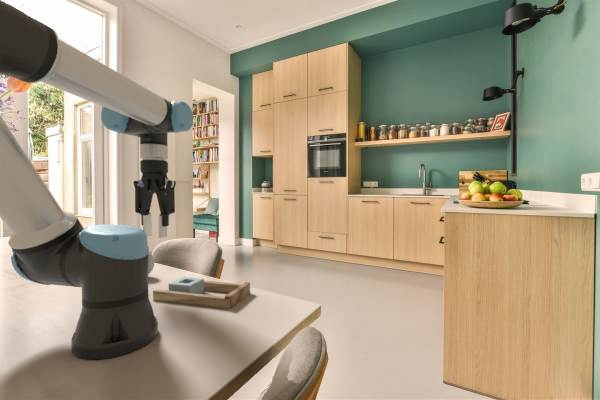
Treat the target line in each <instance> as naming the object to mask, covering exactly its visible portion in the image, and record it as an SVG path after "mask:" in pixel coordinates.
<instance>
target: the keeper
mask: <svg viewBox="0 0 600 400" xmlns="http://www.w3.org/2000/svg"><path fill="white" fill-rule="evenodd" d="M204 281H205V279H204V278H202V277H201V278H200V277H191V276H190V277H188V276H183V277H181V278H178V279H176V280H174V281H171V282H169V283H168V290H169V291H178V292H187V293H196V294H203V293H204V292H205V290H204Z"/></svg>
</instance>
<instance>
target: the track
mask: <svg viewBox="0 0 600 400" xmlns="http://www.w3.org/2000/svg"><path fill="white" fill-rule="evenodd" d="M204 291H207V292H208V291H209V292H218V293H227V294H226V295H223V296H222V295H215V294H213V295H212V294H203V293H201V294H196V293H187V292H178V291H169V289H168V290H167V289H159V288H157V289H154V290H153V291H152V300H154V301H160V302H161V301H162V302H171V303H176V304H187V305H194V306H201V307H202V306H203V307H211V308H219V309H227V310H230V309H232V308H233V307H234V306H235V305H237V304H238V303H239V302H241V301H242V300H244V299H245V298H246V297H247V296H248V295H250V294H251V282H247V281H245V282H244V283H235V282H233V283H232V282H222V281H212V280H204Z"/></svg>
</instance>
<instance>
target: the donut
mask: <svg viewBox="0 0 600 400" xmlns="http://www.w3.org/2000/svg"><path fill="white" fill-rule="evenodd" d="M154 267H155V258H154V255H153V254H152V253H151V252H150V251H149V258H148V275H150V274H151V273H152V272H153V270H154Z"/></svg>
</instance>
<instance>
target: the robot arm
mask: <svg viewBox="0 0 600 400" xmlns="http://www.w3.org/2000/svg"><path fill="white" fill-rule="evenodd" d="M0 75H3V76H6V77H10V78H11V77H12V78H14V79H17V80H19V81H21V82H23V83H26V84H27V83H28V84H37V83H40V82H42V83H44V84H46V85H48V86H49V85H50V86H52V87H54V88H56V89H59V90H61V91H64V92H66V93H68V94H71V95H73V96H75V97H79V98H81V99H84V100H86V101H89V102H90V103H93V104H96V105H98V106H100V107H102V109H101V112H100V117H101V118H100V120H101V123H102V125H103V126H104V127H105V128H106V129H107V130H109V131H112V132H116V133H117V134H123V135H129V136H133V137H138V138H139V147H140V149H139V151H140V152H139V153H140V154H139V157H140V159H141V160H140V162H139V163H140V164H139V165H140V169H139V170H140V173H141V174H142V175H141V177H140V179H138V180H134V181H133V186H134V212H135V213H136V214H139V215H140V217H141V219H140V221H141V226H142V228H140V227H136V226H134V225H133V226H132V225H126V224H113V223H112V224H110V223H108V224H107V223H106V224H103V223H102V224H94V225H92V224H91V225H89V226H85V227H84V226H83V225H82V223H81V221H80V220H79V218H78V216H77V215H76V214H75V213H73V212H68V211H64V210H62V207H61V206H60V204H59V203H58V202H57V200H56V198H55V197H54V195H53V194H52V192H51V190H50V189H49V188H48V186H47V184H46V183H45V182H44V180H43V178H42V177H41V175H40V173H39V172H38V171H37V169H36V168H35V166H34V164H33V163H32V162H31V160H30V158H29V156H28V155H27V153H26V152H25V151H24V149H23V147H22V146H21V144H20V143H19V141H18V140H17V138H16V137H15V135H14V134H13V132H12V131H11V129H10V128H9V126H8V124H7V123H6V121H5V120H4V119H3V117H2V115H1V114H0V219H1V221H2V222H3V223H4V224H5V225H6V226H7V228H8V229H9V230H10V232H11V235H10V237H9V239H8V246H9V247H10V248H11V252H12V255H11V257H10V261H11V264H12V268H13V269H14V271H15V272H16V273H17V274H18V275H19V276H20V277H22V278H23V279H24V280H26V281H29V282H33V283H35V284H39V285H45V286H61V287H63V286H64V287H71V288H72V287H73V288H81V305H82V306H81V312H80V314H79V318H78V320H77V323H76V327H75V331H74V332H73V334H72V337H71V340H70V341H71V353H72V355H74V356H75V357H77V358H79V359H84V360H102V359H108V358H114V357H119V356H122V355H126V354H128V353H129V354H130V353H132V352H134V351H137V350H139V349H141V348H143V347H145V346H147V345H148V344H150V343H151V342H152V341H154V339H156V337H157V335H158V334H159V333H158V332H159V328H158V327H159V322H158V319H157V316H155V314H154V310H153V306H152V304H151V301H150V298H149V296H150V295H149V274H148V258H149V252H150V249H149V244H148V237H152V234H153V231H152V229H153V224H152V222H153V218H152V216H153V215H152V213H151V207H152V202H153V196H154V194H156V198H157V202H158V208H159V212H160V214H158V239H162V238H166V237H167V238H168V226H169V224H170V223H169V222H170V215H172V214H175V213H176V205H175V204H176V203H175V201H176V200H175V198H176V197H175V195H176V194H175V188H176V185H177V181H176V180H171V179H170V178H168V173H169V162H168V161H167V160H168V158H169V157H168V156H169V154H168V153H169V151H168V150H169V147H168V146H169V145H168V137H169V136H168V133H170V134H171V133H176V134H178V133H183V132H188V131H190V130H191V128H192V127H193V125H194V112H193V110H192V108H191V107H190V105H189V104H188V103H187V102H185V101H178V100H173V101H169V100H167V99H166V98H164V97H162V96H161V95H158V93H157V94H156V93H155V92H153V91H151V90H149V89H148V88H146V87H144V86H143V85H141V84H139V83H137V82H135V81H133V80H132V79H130V78H129V77H126V75H123V74H121V73H119V72H118V71H116V70H114V69H113V68H111V67H109V66H107V65H106V64H104V63H103V62H100V61H98V60H97V59H96V58H93V57H92V56H90V55H88V54H86V53H85V52H83V51H80V49H77V48H76V47H74V46H72V45H70V44H68V43H67V42H66V41H64V40H62V39H60V38H59V36H58V34H57V32H56V30H54V28H53V27H51V26H50V25H48V24H47V23H46V22H43V21H42V20H40V19H39V18H36V17H35V16H33V15H32V14H30V13H28V12H26V11H25V10H23V9H21V8H19V7H17V6H15V5H13V4H12V3H9V2H8V1H5V0H0Z"/></svg>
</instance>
